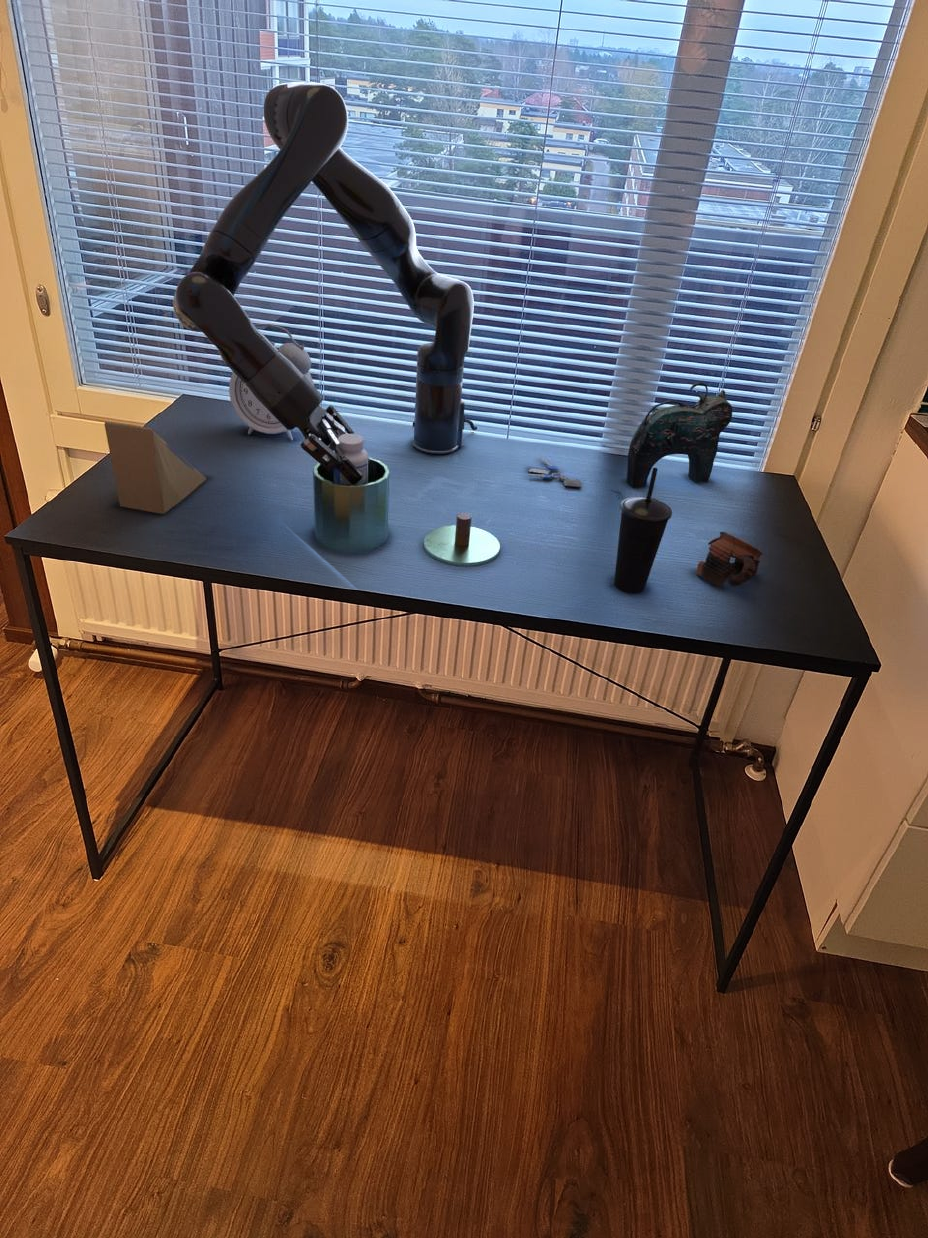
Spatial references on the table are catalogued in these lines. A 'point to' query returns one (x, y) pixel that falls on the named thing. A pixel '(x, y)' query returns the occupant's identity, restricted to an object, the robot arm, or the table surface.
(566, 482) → the key chain
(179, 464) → the sandwich container
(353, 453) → the pill bottle
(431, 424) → the robot arm
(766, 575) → the table surface
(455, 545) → the lid
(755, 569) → the brown wooden hut
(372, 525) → the tin
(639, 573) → the drinking cup
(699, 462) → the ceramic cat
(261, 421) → the alarm clock
